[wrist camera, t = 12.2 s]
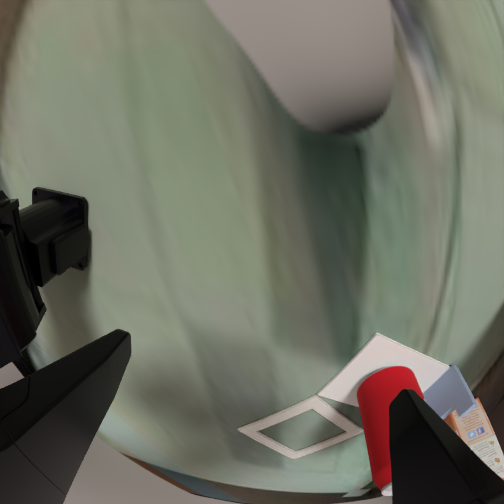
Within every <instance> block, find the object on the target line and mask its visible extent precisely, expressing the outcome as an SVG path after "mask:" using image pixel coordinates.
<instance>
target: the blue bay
mask: <svg viewBox="0 0 504 504" xmlns="http://www.w3.org/2000/svg"><path fill="white" fill-rule="evenodd" d="M390 366H405V367H408V368H410V369H411V370H412V371H413V372H414V374H415V377H416V379H417V381H418V384H419V386H420V388H421V391H422V393H423V396H424V398H425V401H426V403H427V404H428V405H429V406H430V407H431V408H432V409H433V410H434V411H435V412H436V413H437V414H438V415H439V416H440V417H441V418H442V419H444V418H446V417H447V416H448V415H449V414H451V413H452V412H453V411H454V410H455V409H456V411H457V413H458V416H459V417H462V418H464V417H465V416H466V415H467V414H468V413H469V412H471V411H472V410H473V409H474V408H475V407H476V406H477V403H476V401H475V399H474V397H473V395H472V393H471V391H470V389H469V387H468V385H467V383H466V381H465V380H464V378H463V376H462V374H461V372H460V371H459V369H458V367H457V366H455V365H452V366H448V365H446V364H444V363H442V362H440V361H437V360H435V359H433V358H431V357H429V356H426V355H424V354H422V353H420V352H418V351H416V350H413V349H411V348H409V347H407V346H405V345H403V344H400V343H398V342H396V341H394V340H392V339H390V338H388V337H386V336H383V335H381V334H379V333H377V332H376V333H375V334H374V335H373V337H372V338H371V339H370V340H369V341H368V342H367V343H366V344H365V345H364V346H363V348H362V349H361V350H360V351H359V352H358V353H357V354H356V355H355V356H354V357H353V358H352V359H351V360H350V361H349V362H348V363H347V364H346V365H345V366H344V367H343V368H342V369H341V370H340V371H339V372H338V373H337V374H336V375H335V376H334V377H333V378H332V379H331V380H330V381H329V382H328V383H327V384H326V385H325V386H324V387H323V388H322V389H321V390H320V391H319V392H317V395H319V396H323V397H326V398H329V399H332V400H336V401H339V402H342V403H346V404H349V405H353V406H356V407H359V404H358V400H357V390H358V388H359V386H360V385H361V383H362V382H363V381H364V380H365V379H366V378H367V377H369V376H370V375H371V374H373V373H374V372H376V371H378V370H380V369H383V368H386V367H390Z"/></svg>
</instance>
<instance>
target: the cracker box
mask: <svg viewBox="0 0 504 504" xmlns="http://www.w3.org/2000/svg"><path fill="white" fill-rule="evenodd" d="M475 401H476V403H477V406H476V407H475V408H474V409H473V410H472V411H471V412H469V413H468V414H467V415H466V416H465V417H464V418H462V417H459V416H458V413H457V411H456V409H455V410H454V411H453V412H452V413H451V414H449V415H448V416H447V417H446V418H444V419H443V420H444V421H445V422H446V423H447V424H448V425H449V426H450V427H451V429H452V430H453V431H454V432H455V433H456V434H457V435H458V436H459V437H460V438H461V439H462V440H463V441H464V442H465V443H466V444H467V445H468V446H469V447H470V448H471V450H473V451H474V453H475V454H476V455H477V456H478V457H479V458H480V459H481V460H482V461H483V462H484V463H485V464H486V465H487V466H489V467H490V468H491V469H492V470H493V471H494V472H495V473H496V474H497V475H499V476H500V477H501V478H502V479H503V480H504V456H503V453H502V451H501V448H500V445H499V443H498V441H497V438H496V436H495V433H494V431H493V428H492V426H491V424H490V422H489V419H488V417H487V415H486V413H485V411H484V409H483V407H482V405H481V403H480V400H479V399H478V398H475Z"/></svg>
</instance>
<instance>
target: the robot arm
mask: <svg viewBox="0 0 504 504" xmlns="http://www.w3.org/2000/svg"><path fill="white" fill-rule="evenodd" d="M80 202H82V205H81V203H80ZM18 207H19V201H18V199H8V197H7V196H6V195H5V193H4V192H3V190H2V191H0V368H2V367H3V366H5V365H7V364H8V363H10V362H13V361H16V360H18V359H21V358H22V354H21V353H22V352H23V351H25V350H26V348H27V347H28V346H29V344H31V342H32V341H33V340H34V338H35V337H36V335H37V334H36V330H37V328H38V326H39V324H40V322H41V320H42V318H43V316H44V314H45V312H46V310H47V309H46V306H45V304H44V303H43V301H42V298H41V295H40V292H39V289H38V286H40V287H43V286H44V285H45V284H46V283H47V282H49V281H50V280H51V279H52V278H53V277H55V276H56V275H61V274H62V273H63V272H65V271H66V270H67V269H68V268H69V267H73V268H76V269H79V270H84V269H86V268H87V252H88V251H87V200H86V199H85V198H84V197H81V196H77V195H72V194H68V193H63V192H59V191H55V190H50V189H46V188H41V187H36V188H34V189H33V191H32V205H30V206H28V207H26V208H23V209H21V210H19V208H18ZM81 263H82V264H81ZM37 285H38V286H37ZM130 356H131V335H130V333H129V332H126V331H124V330H121V329H116V330H114V331H112V332H110V333H109V334H107V335H105V336H103V337H101V338H99V339H97V340H95V341H93V342H91V343H90V344H88V345H86V346H84V347H82V348H80V349H78V350H76V351H74V352H72V353H71V354H69V355H67V356H65V357H63V358H61V359H59V360H57V361H55V362H53V363H52V364H50V365H48V366H46V367H44V368H42V369H40V370H38V371H36V372H34V373H32V374H31V375H30V376H26V377H25V378H23V379H21V380H19V381H17V382H15V383H13V384H11V385H8V386H6V387H4V388H1V389H0V504H63V502H64V500H65V498H66V495H67V493H68V491H69V488H70V486H71V484H72V482H73V480H74V478H75V476H76V474H77V471H78V469H79V467H80V465H81V463H82V461H83V459H84V457H85V455H86V453H87V451H88V449H89V446H90V444H91V442H92V440H93V438H94V436H95V434H96V433H97V431H98V429H99V427H100V425H101V423H102V421H103V419H104V417H105V415H106V413H107V411H108V409H109V407H110V405H111V403H112V402H113V399H114V397H115V395H116V393H117V390H118V387H119V385H120V382H121V380H122V377H123V374H124V372H125V369H126V367H127V364H128V362H129V359H130ZM389 451H390V463H391V478H392V501H393V502H392V504H504V480H503V479H502V478H501V477H500V476H499V475H497V474H496V473H495V472H494V471H493V470H492V469H491V468H490V467H489V466H487V465H486V464H485V463H484V462H483V461H482V460H481V459H480V458H479V457H478V456H477V455H476V454H475V453H474V451H473V450H471V448H470V447H469V446H468V445H467V444H466V443H465V442H464V441H463V440H462V439H461V438H460V437H459V436H458V435H457V434H456V433H455V432H454V431H453V430H452V429H451V427H450V426H449V425H448V424H447V423H446V422H445V421H444V420H443V419H442V418H441V417H440V416H439V415H438V414H437V413H436V412H435V411H434V410H433V409H432V408H431V407H430V406H429V405H428V404H427V403H426V402H425V401H424V400H423V399H422V398H421V397H420V396H419V395H418V394H417V393H416V392H415V391H414V390H413V389H402V390H401V391H400V392H399V393H398V394H397V396H396V397H395V398H394V399H393V400H392V402H391V403H390V405H389Z"/></svg>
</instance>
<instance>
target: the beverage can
mask: <svg viewBox="0 0 504 504" xmlns="http://www.w3.org/2000/svg"><path fill="white" fill-rule="evenodd" d="M402 389H413V390H414V391H415V392H416V393H417V394H418V395H419V396H420V397H421V398H422V399H423V400H424V401H425V398H424V396H423V393H422V391H421V388H420V386H419V384H418V381H417V379H416V377H415V374H414V372H413V371H412V370H411V369H410V368H408V367H405V366H390V367H386V368H383V369H380V370H378V371H376V372H374V373H373V374H371V375H370V376H369V377H367V378H366V379H365V380H364V381H363V382H362V383H361V385H360V386H359V388H358V390H357V400H358V404H359V409H360V414H361V419H362V423H363V428H364V433H365V439H366V444H367V449H368V455H369V461H370V466H371V472H372V479H373V481H374V483H375V484H376V485H377V487H378V488H379V489H380V490H381V493H382V495H384V496H392V478H391V463H390V451H389V405H390V403H391V402H392V400H393V399H394V398H395V397H396V396H397V394H398V393H399V392H400V391H401V390H402ZM425 402H426V401H425Z"/></svg>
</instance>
